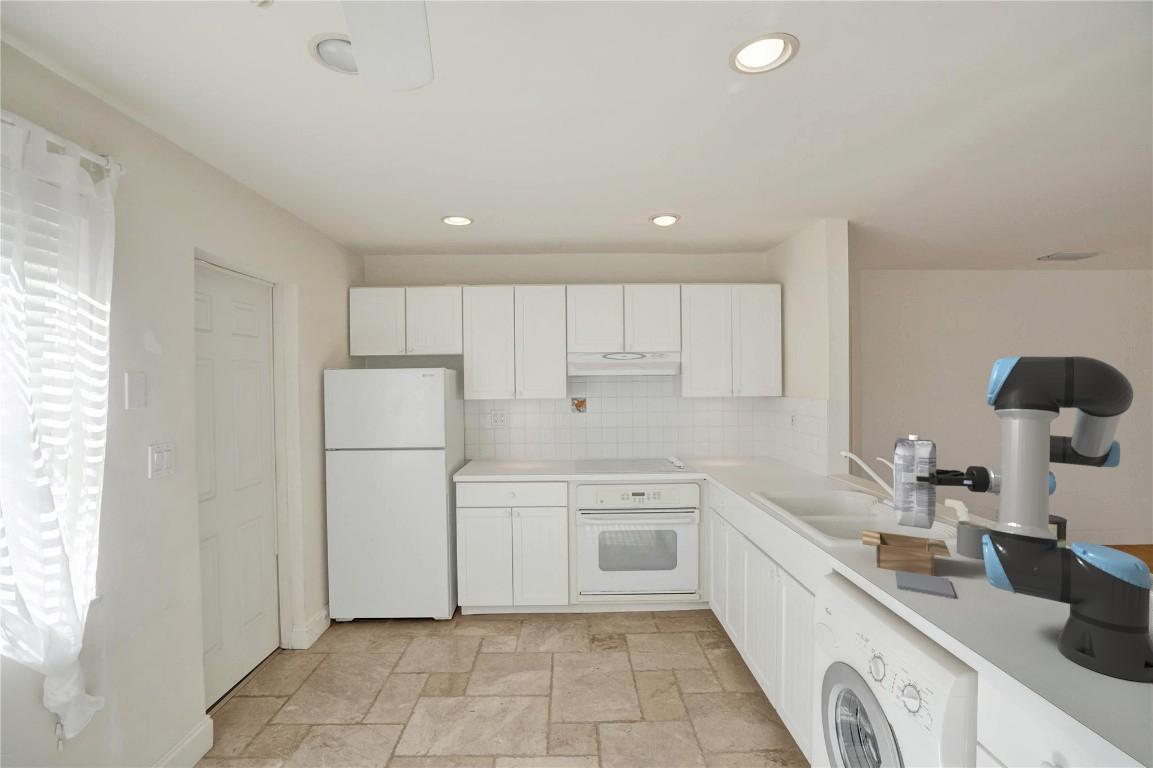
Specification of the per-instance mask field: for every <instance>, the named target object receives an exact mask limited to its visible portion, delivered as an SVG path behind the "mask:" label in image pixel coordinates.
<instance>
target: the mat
mask: <svg viewBox="0 0 1153 768" xmlns="http://www.w3.org/2000/svg"><path fill="white" fill-rule="evenodd" d="M895 579H896V580H897V581H896V587H897V589H898V588H899V589H898V590H902V589H905V590H904V591H908V590H911V591H910V592H914V591H916V592H915V593H919V592H921V594H925V593H927V594H926V595H931V594H932V595H931V596H936V595H938V596H937V597H942V596H945V597H944V598H948V597H951V598H950V599H954V598H956V597H955V596H956V595H955V592H954V590H953V587H952V584H951V582H950V580H949V578H947V577H942V576H941V577H940V576H936V575H934V576H930V575H924V574H918V573H912V572H905V571H899V570H895Z"/></svg>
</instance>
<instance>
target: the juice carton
mask: <svg viewBox="0 0 1153 768" xmlns="http://www.w3.org/2000/svg"><path fill="white" fill-rule="evenodd" d="M893 451H894V453H893V454H894V456H893V467H894V476H893V491H892V492H893V494H892V495H893V498H892V499H893V500H892V502H893V503H892V506H893V508H892V509H893V513H894V514H893V515H894V518H895V521H896V524H897V525H898V526H902V527H903V526H905V527H909V528H911V527H912V528H918V529H926V530H931V529H932V527H933V525H934V521H935V516H936V502H937V501H936V495H937V492H936V491H937V486H935V485H934V484H925V483H910V482H902V473H920V474H929V477H930V473H934V475H936V469H937V446H936V443H934V442H933V441H932V440H931V439H921V436H920V435H917V434H916V435H915V434H912V435H911V434H909V435H908V439H907V438H901V437H900V438H896V440H895V442H894V449H893Z"/></svg>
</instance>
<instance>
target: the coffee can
mask: <svg viewBox="0 0 1153 768" xmlns="http://www.w3.org/2000/svg"><path fill="white" fill-rule="evenodd" d="M1067 523H1068V519H1067V518H1065V517H1062V516H1059V515H1055V514H1049V521H1048V528H1049V530H1050V531H1051V532H1052V533H1053V534H1054V535H1055V536H1056V537H1057V546H1058V547H1063V548H1067Z"/></svg>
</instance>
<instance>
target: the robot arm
mask: <svg viewBox="0 0 1153 768" xmlns="http://www.w3.org/2000/svg"><path fill="white" fill-rule="evenodd" d="M990 373H991V375H990V378H989V384H988V388H987V389H988V390H987V395H986V396H987V397H986V404H987V406H991V407H993V409H994V411H993V413H994V414H995V415H996V416H997V417H999V418H1000V420H1001V441H1000V442H1001V445H1000V446H1001V447H1000V448H1001V449H1000V466H986V467H985V466H981V465H980V466H978V465H970V466H968V467H967V469H966V471H965V473H964V472H963V471H961V470H959V469H941V468H940V469H939V468H936V475H934V473H930V477H929V474H920V473H902V482H910V483H925V484H934V485H935V486H936V487H937V486H938V487H939V486H940V487H941V486H943V487H944V486H946V487H947V486H949V487H967V489H968V490H969V491H970V492H973V493H988V494H994V496H995V495H996V496H999V506H998V507H999V511H998V513H999V514H998V515H999V516H998V522H997V523H996V524H994V525H992V527H991V532H990V535H988V534H987V535H984V536H983V537H982V542H983V553H984V560H983V561H984V568H985V573H986V578H987V581H988V583H989V584H990V586H992V587H994V588H996V589H999V590H1003V591H1007V592H1010V593H1013V594H1020V595H1026V596H1029V597H1030V596H1031V597H1033V598H1034V597H1035V598H1039V599H1044V600H1048V601H1052V602H1057V603H1064V604H1068V605H1069V615H1068V618H1067V620H1066V622H1065V623H1064V625H1063V627H1062V629H1061V631H1060V633H1059V635H1058V636H1057V637H1058V638H1057V649H1058V651H1059V652H1060V654H1062V655H1063V656H1064V657H1065V658H1066V659H1069V660H1070V661H1071V662H1073V663H1075V664H1077V665H1080V666H1081V667H1083V668H1086V669H1089V670H1092V671H1094V672H1097V673H1100V674H1103V675H1106V676H1110V677H1114V678H1117V679H1123V680H1128V681H1135V682H1153V641H1152V639H1151V637H1150V606H1151V605H1150V604H1151V603H1150V599H1151V598H1150V597H1151V589H1152V588H1153V587H1152V583H1151V570H1150V568H1149V566H1148V564H1147V563H1146V562H1145V561H1143V560H1142V559H1140V558H1138V557H1137V556H1134V555H1132V554H1130V553H1128V552H1125V551H1121V550H1118V549H1117V548H1116V549H1115V548H1112V547H1109V546H1105V545H1101V544H1097V543H1091V542H1081V541H1074V542H1072V544H1071V545H1070V548H1069V547H1066V548H1063V547H1058V546H1057V537H1056V536H1055V535H1054V534H1053V533H1052V532H1051V531H1050V530H1049V528H1048V521H1049V515H1050V514H1049V511H1050V508H1049V507H1050V502H1049V501H1050V496H1052V495H1053V494H1054V493H1055V491H1056V488H1057V481H1056V476H1055V475H1054V473H1053V472H1052V471H1050V463H1051V464H1052V463H1053V464H1054V463H1055V464H1066V465H1074V466H1075V465H1077V466H1086V467H1088V466H1089V467H1096V468H1116V467H1118V466H1119V465H1120V460H1121V446H1120V445H1121V444H1120V442H1119V441H1118V440H1117V439H1115V435H1116V432H1117V429H1118V426H1119V423H1120V419H1121V416H1122V414H1124V413H1125V412H1127V411H1128V410H1129V408H1131V405H1132V403H1133V400H1134V390H1133V389H1134V388H1133V386H1132V385H1131V382H1130V381H1129V379H1128V378H1127V377H1126V376H1125V375H1124V373H1122V372H1121V371H1120V370H1119V369H1117V367H1114V366H1113V365H1111V364H1110V363H1107V362H1104V361H1102V360H1100V359H1096V358H1093V357H1090V356H1089V357H1088V356H1079V355H1078V356H1022V355H1021V356H1013V357H1002V358H998V359H997V360H996V361H995V362H994V364H993V367H992V370H991V372H990ZM1061 409H1076V412H1075V418H1074V424H1073V430H1072V435H1071V436H1065V435H1064V436H1063V435H1062V436H1061V435H1054V434H1053V435H1052V434H1051V423H1052V421H1054V420H1056V418H1058V417H1060V410H1061ZM892 471H893V474H892V475H893V477H894V466H893V469H892Z"/></svg>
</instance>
